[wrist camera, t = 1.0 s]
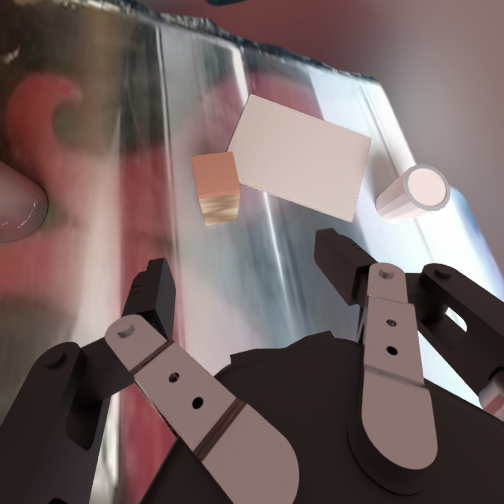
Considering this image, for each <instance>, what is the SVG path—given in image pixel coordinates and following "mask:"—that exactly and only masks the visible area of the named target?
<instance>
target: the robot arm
mask: <svg viewBox="0 0 504 504" xmlns="http://www.w3.org/2000/svg"><path fill="white" fill-rule="evenodd" d="M47 208H48V201H47V197H46V194H45V193H44V191H43V189H42V188H41V187H40V186H39V185H38V184H36V183H34V182H33V181H31V180H30V179H28V178H26V177H25V176H23V175H22V174H20V173H19V172H17V171H15V170H14V169H12V168H11V167H9V166H8V165H6V164H4V163H3V162H1V161H0V241H1V242H6V241H14V240H18V239H21V238H23V237H25V236H27V235H29V234H30V233H32V232H33V231H35V230H36V229H37V228H38V227H39V226H40V224H41V223H42V222H43V220H44V218H45V216H46V213H47ZM314 258H315V262H316V264H317V265H318V267H319V268H320V269H321V271H322V272H323V273H324V275H325V276H326V277H327V278H328V280H329V281H330V282H331V284H332V285H333V286H334V287H335V289H336V290H337V291H338V293H339V294H340V295H341V297H342V298H343V299H344V300H345V302H346V303H347V304H348V306H350V305H355V304H359V306H360V308H359V314H358V322H357V330H356V339H355V342H354V341H351V340H347V339H341V338H334V336H333V335H332V333H331V331H326V332H322V333H318V334H314V335H309V336H306V337H304V338H302V339H301V340H299V341H297V342H295V343H293V344H291V345H289V346H288V347H286V348H281V349H253V350H249V351H244V352H240V353H236V354H232V355H230V358H231V364H229V365H227V366H226V367H224V368H223V369H221V370H220V371H219V372H218V373H217V374H216V375H215V376H214V377H213V376H212V375H211V374H210V373H209V372H208V371H207V370H205V369H204V368H203V367H202V366H201V365H200V364H199V363H198V362H197V361H196V360H195V359H193V358H192V357H191V356H190V355H189V354H188V353H187V352H186V351H185V350H184V349H183V348H182V347H180V346H179V345H178V344H177V343H176V342H175V341H173V340H172V335H173V322H174V309H175V296H176V289H175V283H174V280H173V277H172V274H171V271H170V268H169V265H168V262H167V260H166V258H159V259H154V260H149V262H148V266H147V270H146V271H143V272H140V273H139V274H138V275H137V276H136V277H135V278H134V279H133V282H132V285H131V289H130V292H129V295H128V298H127V301H126V304H125V307H124V311H123V314H122V317H121V318H120V319H118V320H117V321H115V322H114V323H113V324H112V325H111V326H110V327H109V328H108V329H107V331H106V333H105V337H103V338H101V339H99V340H97V341H95V342H92V343H90V344H88V345H86V346H84V347H82V348H80V347H79V345H78V344H77V343H75V342H65V343H61V344H58V345H56V346H54V347H52V348H51V349H49V350H47V351H46V352H45V353H44V354H42V355H41V356H40V357H39V358H38V359H37V361H36V362H35V363H34V365H33V366H32V368H31V370H30V372H29V374H28V376H27V378H26V380H25V382H24V383H23V385H22V387H21V389H20V391H19V393H18V395H17V397H16V399H15V400H14V402H13V404H12V406H11V408H10V410H9V412H8V414H7V416H6V417H5V419H4V421H3V423H2V425H1V427H0V504H89V499H90V495H91V490H92V485H93V480H94V475H95V471H96V466H97V461H98V456H99V452H100V447H101V442H102V437H103V432H104V428H105V423H106V418H107V413H108V408H109V404H110V399H111V395H113V394H115V393H117V392H119V391H120V390H122V389H124V388H126V387H128V386H129V385H131V384H133V383H135V385H136V386H137V387H138V389H139V390H140V391H141V393H142V394H143V395H144V397H145V398H146V399H147V400H148V402H149V403H150V404H151V406H152V407H153V408H154V410H155V411H156V412H157V414H158V415H159V416H160V418H161V419H162V421H163V422H164V423H165V425H166V426H167V428H168V429H169V430H170V432H171V433H172V434H173V436H174V437H175V438H176V439H175V441H174V443H173V445H172V447H171V448H170V450H169V452H168V454H167V455H166V457H165V459H164V461H163V462H162V464H161V466H160V468H159V469H158V471H157V473H156V475H155V477H154V478H153V480H152V482H151V484H150V485H149V487H148V489H147V491H146V492H145V494H144V496H143V498H142V500H141V501H140V503H139V504H504V302H503V301H501V300H500V299H498V298H497V297H495V296H494V295H492V294H491V293H490V292H488V291H487V290H485V289H484V288H482V287H481V286H479V285H478V284H476V283H475V282H474V281H472V280H471V279H469V278H468V277H466V276H465V275H463V274H462V273H460V272H459V271H458V270H456V269H454V268H452V267H450V266H447V265H443V264H437V263H432V264H427V265H425V266H424V268H423V270H422V272H421V273H404V272H403V270H401V269H400V268H399V267H397V266H395V265H392V264H389V263H378V262H377V261H376V260H375V259H374V258H373V257H371V256H370V255H369V254H368V253H367V252H366V251H364V250H363V249H362V248H361V247H360V246H359V245H357V244H356V243H355V242H354V241H353V240H352V239H350V238H348V237H346V236H344V235H339V234H338V233H337V232H336V231H335V230H334V229H333V228H326V229H321V230H317V231H316V237H315V249H314ZM448 307H450V308H451V309H452V310H453V311H454V312H455V313H457V314H458V315H459V316H460V317H461V318H462V319H463V320H464V321H465V323H466V325H467V331H466V332H465V331H464V330H463V329H462V328H461V327H460V326H458V325H457V324H456V323H455V322H454V321H453V320H452V319H451V318H450V317H448V316H447V315H446V314H445V313H446V311H447V309H448ZM417 330H418V331H419V332H420V333H421V334H422V335H423V336H424V337H425V339H426V340H427V341H428V342H429V343H430V344H431V345H432V346H433V347H434V348H435V350H436V351H437V352H438V353H439V354H440V355H441V356H442V357H443V358H444V360H445V361H446V362H447V363H448V364H449V365H450V366H451V367H452V368H453V369H454V371H455V372H456V373H457V374H458V375H459V376H460V377H461V378H462V379H463V380H464V382H465V383H466V384H467V385H468V386H469V387H470V388H471V389H472V390H473V391H474V393H475V394H476V395H477V396H478V397H479V402H480V404H481V406H482V408H483V409H481V408H479V407H477V406H475V405H473V404H472V403H470V402H468V401H466V400H464V399H462V398H460V397H459V396H457V395H455V394H453V393H451V392H449V391H447V390H446V389H444V388H442V387H440V386H438V385H436V384H434V383H433V382H431V381H429V380H427V379H425V378H423V370H422V363H421V355H420V347H419V339H418V331H417Z"/></svg>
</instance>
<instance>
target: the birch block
mask: <svg viewBox="0 0 504 504" xmlns="http://www.w3.org/2000/svg"><path fill="white" fill-rule="evenodd" d="M191 160H192V166H193V171H194V177H195V183H196V188H197V194H198V198H199V202H200V206H201V209H202V213H203V217H204V220H205V224H206V225H211V224H217V223H223V222H230V221H236V220H237V215H238V207H239V199H240V190H241V188H240V183H239V179H238V174H237V169H236V164H235V160H234V155H233V151H229V152H221V153H212V154H204V155H196V156H191Z"/></svg>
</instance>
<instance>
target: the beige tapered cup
mask: <svg viewBox="0 0 504 504" xmlns="http://www.w3.org/2000/svg"><path fill="white" fill-rule="evenodd" d="M449 198H450V188H449V184H448V182H447V180H446V179H445V177H444V176H443V174H442V173H440V172H439V171H438V170H436V169H435V168H433V167H431V166H428V165H415V166H413V167H411V168H409V169H408V170H407V171H406V172H405V173H403V174H402V175H401V176H400V177H399V178H398V179H397V180H396V181H394V182H393V183H392V184H391V185H390V186H389V187H388V188H387V189H386V190H384V191H383V192H382V193H381V194H380V195H379V197H378V198H377V200H376V210H377V213H378V214H379V216H380V217H381V218H382V219H383V220H385V221H386V222H389V223H391V224H397V223H401V222H405V221H408V220H411V219H414V218H417V217H420V216H423V215H426V214H429V213H432V212H435V211H438V210H440V209H442V208H443V207H445V206H446V204H447V203H448V201H449Z"/></svg>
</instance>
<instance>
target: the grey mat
mask: <svg viewBox="0 0 504 504" xmlns="http://www.w3.org/2000/svg"><path fill="white" fill-rule="evenodd" d="M371 140H372V138H369V137H367V136H364V135H361V134H359V133H356V132H353V131H350V130H348V129H345V128H342V127H340V126H337V125H334V124H331V123H329V122H326V121H323V120H321V119H318V118H315V117H312V116H310V115H307V114H304V113H302V112H299V111H296V110H293V109H291V108H288V107H285V106H282V105H280V104H277V103H274V102H272V101H269V100H266V99H263V98H261V97H258V96H255V95H253V94H250V96H249V98H248V101H247V103H246V106H245V108H244V111H243V113H242V115H241V118H240V120H239V123H238V125H237V128H236V130H235V133H234V135H233V137H232V140H231V142H230V145H229V147H228V150H227V152H229V151H233V155H234V160H235V164H236V169H237V174H238V179H239V183H241V184H244V185H246V186H249V187H252V188H255V189H258V190H260V191H263V192H266V193H269V194H272V195H275V196H277V197H280V198H283V199H286V200H289V201H291V202H294V203H297V204H300V205H303V206H306V207H308V208H311V209H314V210H317V211H320V212H322V213H325V214H328V215H331V216H334V217H337V218H339V219H342V220H345V221H348V222H352V220H353V216H354V211H355V207H356V203H357V199H358V195H359V191H360V186H361V182H362V178H363V174H364V170H365V165H366V161H367V157H368V153H369V149H370V145H371Z"/></svg>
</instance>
